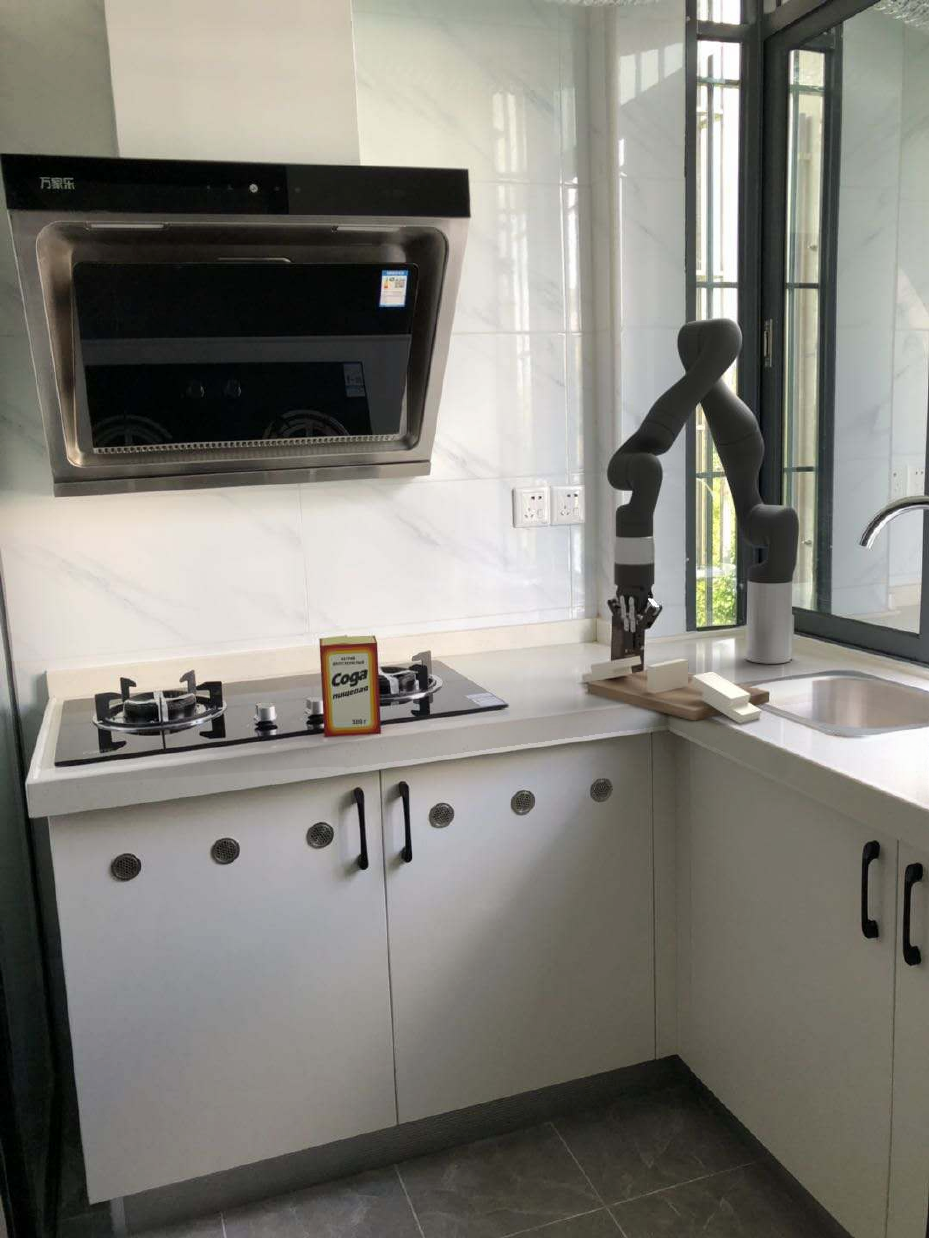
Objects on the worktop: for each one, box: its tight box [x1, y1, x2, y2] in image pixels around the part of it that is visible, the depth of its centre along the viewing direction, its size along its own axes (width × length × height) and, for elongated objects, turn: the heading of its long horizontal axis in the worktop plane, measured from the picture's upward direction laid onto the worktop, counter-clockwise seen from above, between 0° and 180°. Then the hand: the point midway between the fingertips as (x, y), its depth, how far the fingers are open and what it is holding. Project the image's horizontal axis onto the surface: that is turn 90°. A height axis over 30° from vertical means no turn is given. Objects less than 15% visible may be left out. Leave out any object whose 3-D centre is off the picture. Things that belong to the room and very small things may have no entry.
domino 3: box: [647, 658, 689, 694], centre depth 189 cm, size 2×5×9 cm
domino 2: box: [582, 666, 633, 683], centre depth 201 cm, size 2×5×9 cm
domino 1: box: [590, 656, 641, 673], centre depth 199 cm, size 2×5×9 cm
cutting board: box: [586, 669, 771, 721], centre depth 190 cm, size 20×27×2 cm
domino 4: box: [691, 671, 750, 707], centre depth 177 cm, size 2×5×9 cm
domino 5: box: [701, 692, 762, 724], centre depth 176 cm, size 2×5×9 cm
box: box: [610, 613, 646, 673], centre depth 211 cm, size 6×4×12 cm
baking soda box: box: [318, 635, 382, 738], centre depth 173 cm, size 10×6×16 cm
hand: (634, 650), depth 194 cm, fingers closed
